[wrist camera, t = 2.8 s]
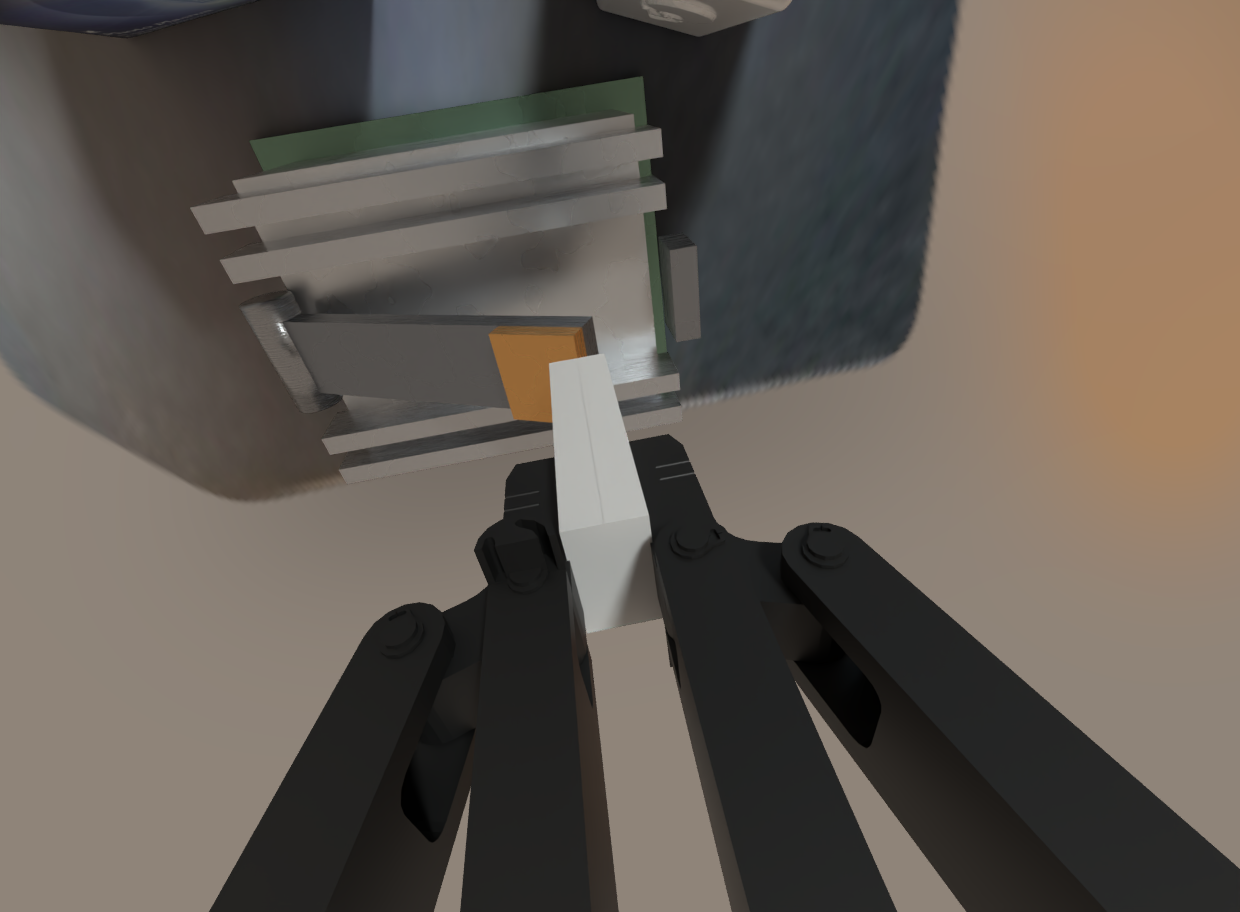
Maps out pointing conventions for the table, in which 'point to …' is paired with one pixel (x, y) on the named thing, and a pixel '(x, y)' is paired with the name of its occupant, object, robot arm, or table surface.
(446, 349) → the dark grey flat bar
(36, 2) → the small box
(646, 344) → the heatsink
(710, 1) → the jar
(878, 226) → the table surface
